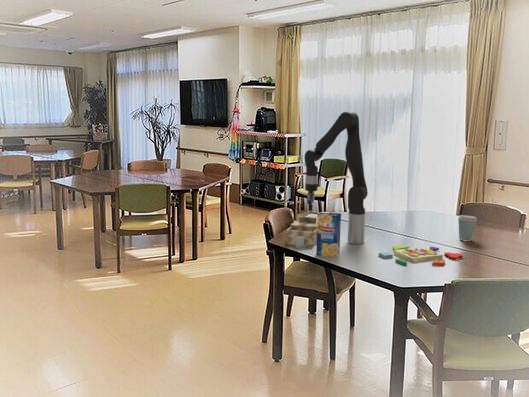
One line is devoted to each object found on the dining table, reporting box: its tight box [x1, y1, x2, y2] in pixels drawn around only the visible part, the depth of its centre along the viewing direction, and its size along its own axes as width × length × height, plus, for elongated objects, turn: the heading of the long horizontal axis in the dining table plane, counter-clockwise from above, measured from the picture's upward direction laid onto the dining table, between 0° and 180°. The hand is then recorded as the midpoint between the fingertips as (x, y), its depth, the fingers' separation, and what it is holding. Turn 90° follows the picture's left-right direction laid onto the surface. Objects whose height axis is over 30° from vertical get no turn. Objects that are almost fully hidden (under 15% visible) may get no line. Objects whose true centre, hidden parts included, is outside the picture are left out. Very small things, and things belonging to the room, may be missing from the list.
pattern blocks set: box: [378, 245, 464, 267], centre depth 261 cm, size 38×34×3 cm
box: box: [285, 225, 317, 247], centre depth 285 cm, size 16×12×8 cm
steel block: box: [294, 236, 306, 249], centre depth 276 cm, size 4×4×6 cm
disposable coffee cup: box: [457, 214, 478, 241], centre depth 295 cm, size 11×11×15 cm
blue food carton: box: [315, 211, 342, 258], centre depth 261 cm, size 7×11×22 cm, turn 68°
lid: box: [290, 215, 317, 228], centre depth 293 cm, size 16×12×4 cm
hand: (310, 210), depth 303 cm, fingers closed
